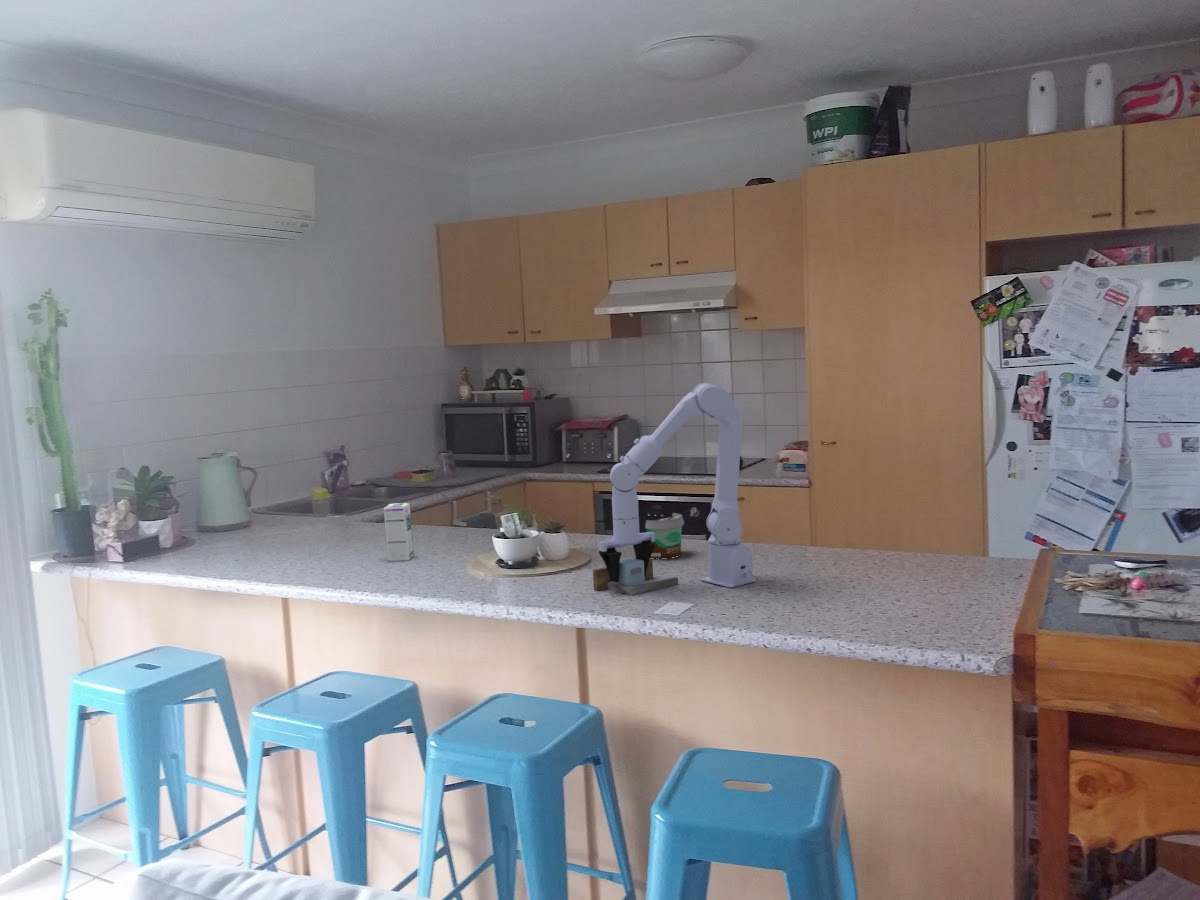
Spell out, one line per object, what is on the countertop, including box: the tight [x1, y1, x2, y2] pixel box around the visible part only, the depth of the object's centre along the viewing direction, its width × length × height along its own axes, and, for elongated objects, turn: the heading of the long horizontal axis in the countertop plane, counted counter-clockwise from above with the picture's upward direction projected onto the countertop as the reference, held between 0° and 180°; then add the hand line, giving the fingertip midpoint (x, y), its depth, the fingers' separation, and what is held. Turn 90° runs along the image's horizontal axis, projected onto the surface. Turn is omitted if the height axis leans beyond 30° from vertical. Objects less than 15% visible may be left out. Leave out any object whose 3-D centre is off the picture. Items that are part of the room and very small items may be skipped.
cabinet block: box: [616, 556, 646, 587], centre depth 209 cm, size 6×5×6 cm
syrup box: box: [383, 502, 415, 562], centre depth 250 cm, size 6×6×14 cm
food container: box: [644, 512, 685, 560], centre depth 238 cm, size 12×6×10 cm, turn 140°
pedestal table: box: [592, 558, 679, 596], centre depth 209 cm, size 10×16×4 cm, turn 127°
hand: (628, 578), depth 209 cm, fingers open, 7 cm apart
